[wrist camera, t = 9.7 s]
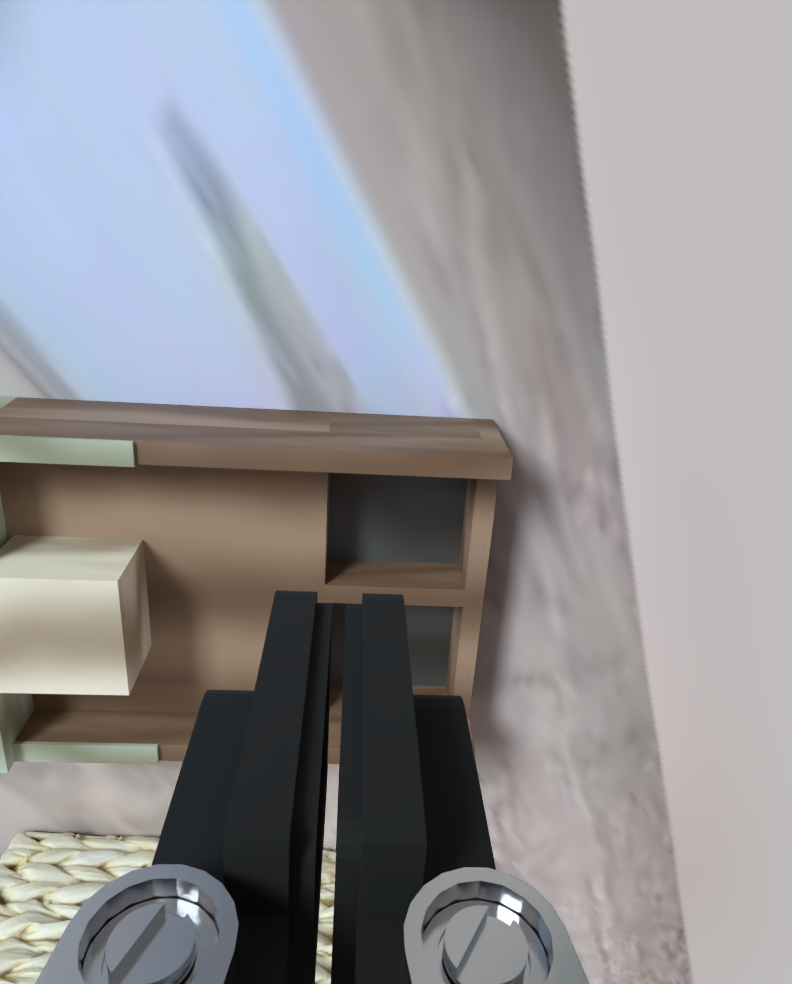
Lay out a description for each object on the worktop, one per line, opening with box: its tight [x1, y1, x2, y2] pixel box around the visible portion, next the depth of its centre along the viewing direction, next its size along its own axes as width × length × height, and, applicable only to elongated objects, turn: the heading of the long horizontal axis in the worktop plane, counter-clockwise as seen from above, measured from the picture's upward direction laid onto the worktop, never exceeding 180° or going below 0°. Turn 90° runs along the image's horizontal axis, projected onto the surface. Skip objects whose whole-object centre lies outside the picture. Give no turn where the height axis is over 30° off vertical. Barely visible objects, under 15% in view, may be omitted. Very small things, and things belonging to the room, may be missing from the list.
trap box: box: [0, 397, 513, 773], centre depth 37 cm, size 17×24×6 cm
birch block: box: [0, 535, 152, 695], centre depth 35 cm, size 6×6×4 cm
